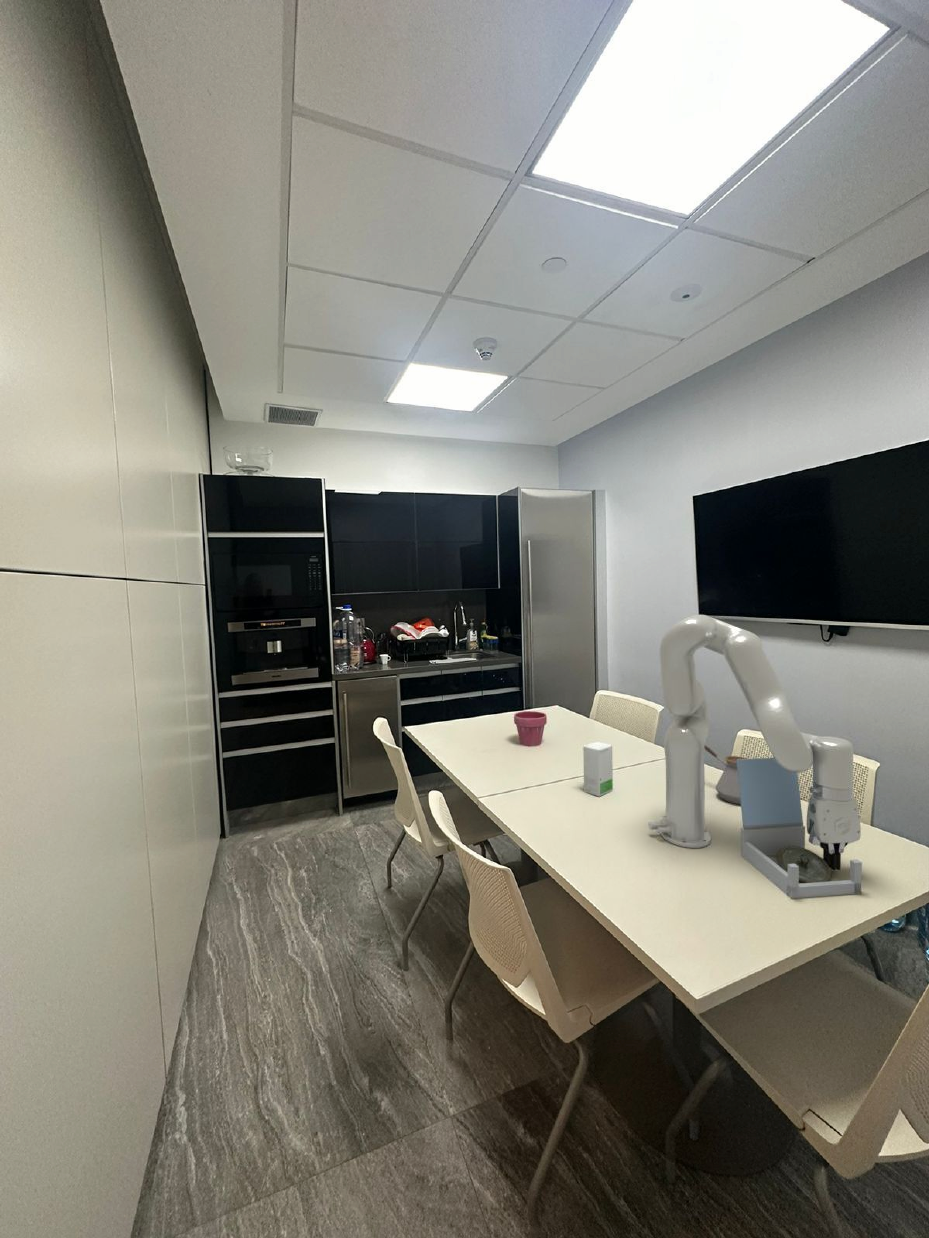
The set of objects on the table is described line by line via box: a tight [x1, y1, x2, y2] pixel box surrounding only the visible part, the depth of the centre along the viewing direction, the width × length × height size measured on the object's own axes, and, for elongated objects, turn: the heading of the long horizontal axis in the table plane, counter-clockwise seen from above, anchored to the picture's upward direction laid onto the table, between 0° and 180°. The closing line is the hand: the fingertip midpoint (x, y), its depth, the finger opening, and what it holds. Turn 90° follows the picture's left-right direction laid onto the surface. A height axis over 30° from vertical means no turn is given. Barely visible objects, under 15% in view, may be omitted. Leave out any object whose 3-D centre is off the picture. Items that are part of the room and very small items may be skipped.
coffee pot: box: [704, 745, 747, 805], centre depth 159 cm, size 21×12×15 cm, turn 23°
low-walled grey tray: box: [740, 824, 863, 899], centre depth 115 cm, size 16×17×7 cm
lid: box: [776, 846, 832, 883], centre depth 115 cm, size 11×10×5 cm
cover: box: [737, 757, 804, 829], centre depth 123 cm, size 15×17×1 cm
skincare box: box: [582, 741, 614, 798], centre depth 163 cm, size 8×7×16 cm
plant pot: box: [513, 710, 548, 747], centre depth 215 cm, size 14×14×13 cm
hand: (831, 866), depth 115 cm, fingers closed
